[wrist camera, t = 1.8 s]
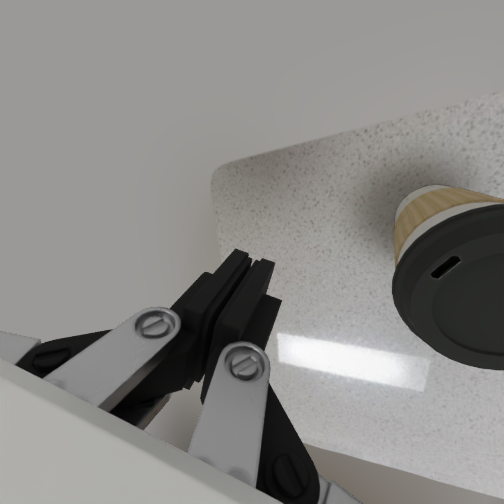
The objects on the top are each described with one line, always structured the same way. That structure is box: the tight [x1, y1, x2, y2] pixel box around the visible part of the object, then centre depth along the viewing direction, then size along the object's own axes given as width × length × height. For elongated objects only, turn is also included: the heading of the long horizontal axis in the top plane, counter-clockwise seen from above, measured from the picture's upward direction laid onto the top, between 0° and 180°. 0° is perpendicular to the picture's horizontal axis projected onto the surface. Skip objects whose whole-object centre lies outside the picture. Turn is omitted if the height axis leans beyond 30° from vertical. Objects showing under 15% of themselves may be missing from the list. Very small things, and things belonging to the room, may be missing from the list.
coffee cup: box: [392, 185, 504, 370], centre depth 20 cm, size 10×10×15 cm
